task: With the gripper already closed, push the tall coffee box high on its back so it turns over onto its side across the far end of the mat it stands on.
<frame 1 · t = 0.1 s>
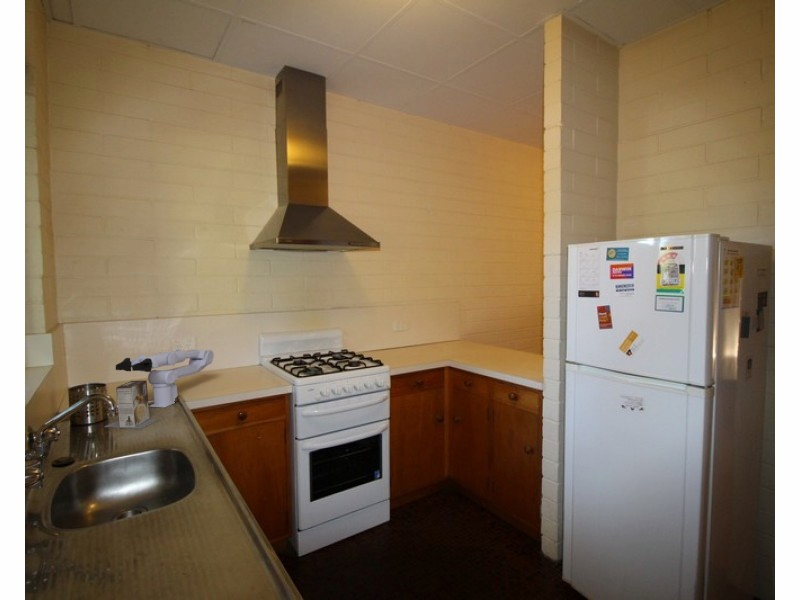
hand: (124, 367, 164), 22 cm above the counter, tool horizontal, fingers open, 7 cm apart
mat: (131, 423, 163), on the counter
coffee box: (135, 423, 163), resting on mat
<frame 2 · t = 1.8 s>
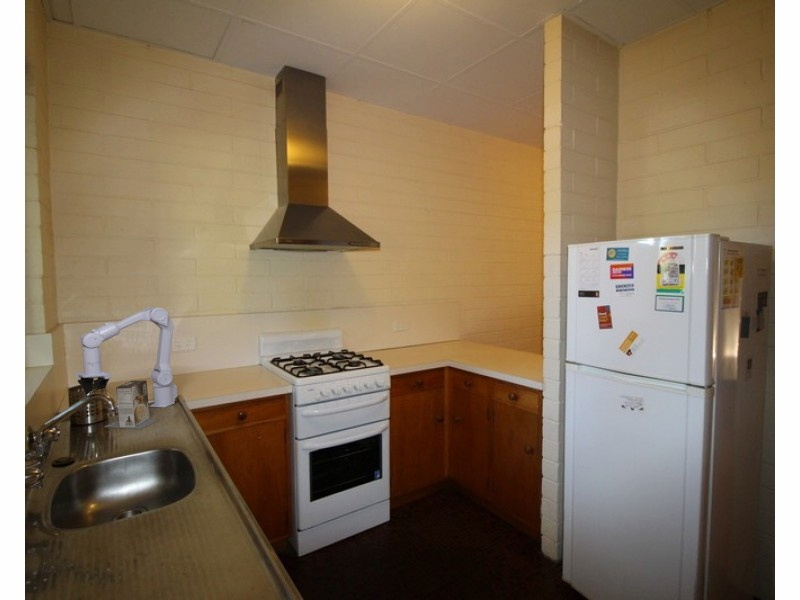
hand: (95, 395, 166), 10 cm above the counter, tool pointing down, fingers open, 5 cm apart
nothing on the counter moved.
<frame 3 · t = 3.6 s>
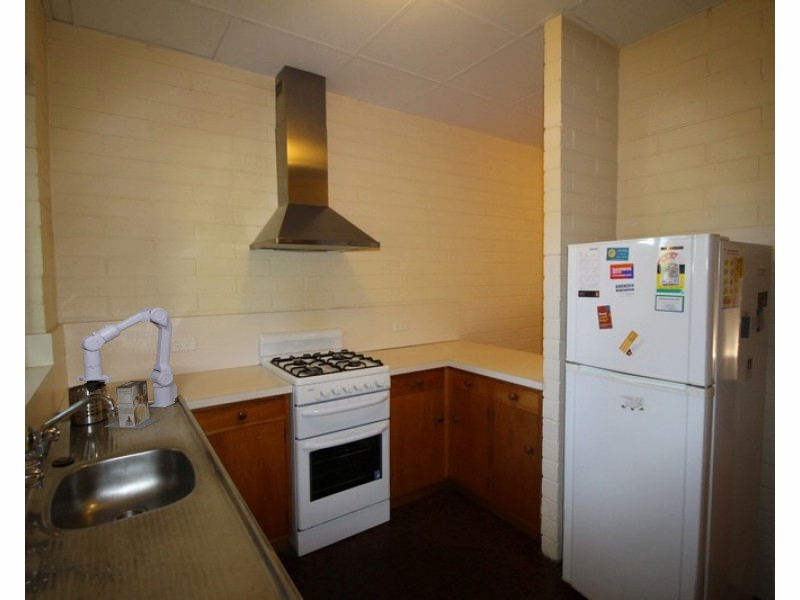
hand: (95, 399, 165), 9 cm above the counter, tool pointing down, fingers closed
nothing on the counter moved.
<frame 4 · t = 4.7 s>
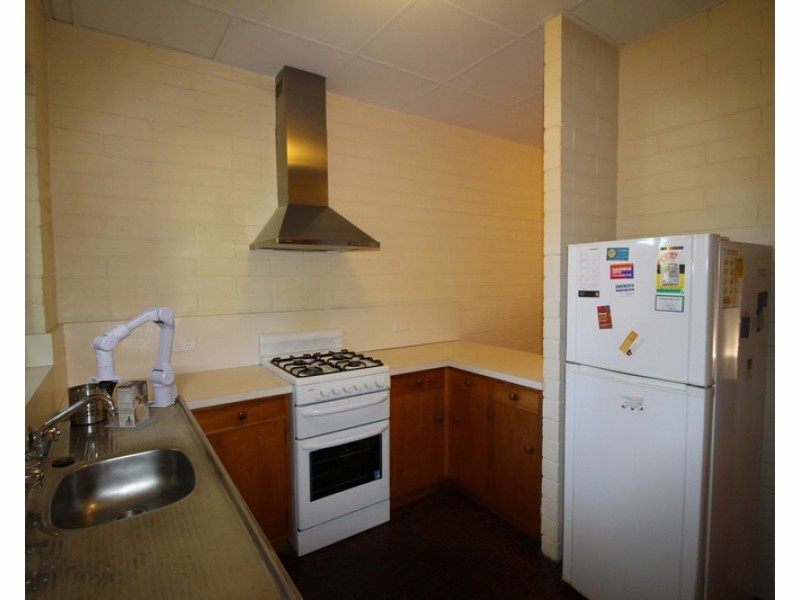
hand: (108, 399, 164), 9 cm above the counter, tool pointing down, fingers closed
nothing on the counter moved.
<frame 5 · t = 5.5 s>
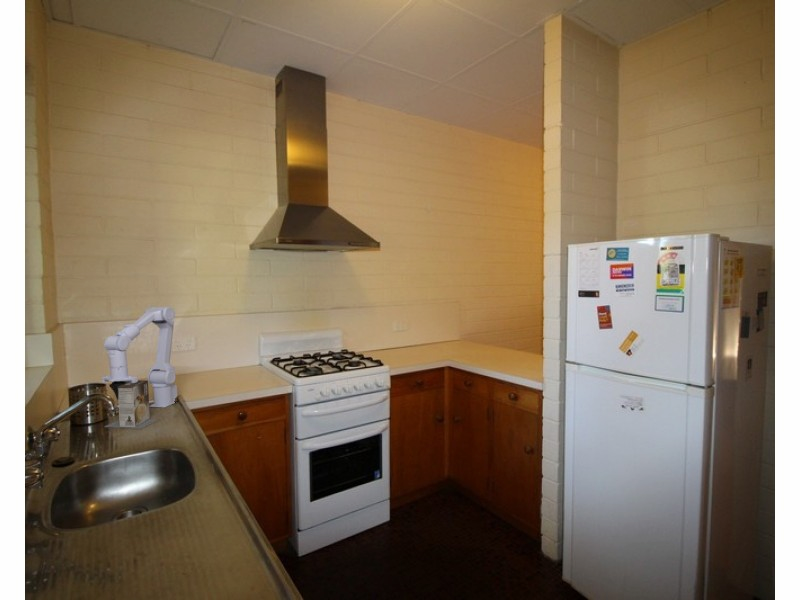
hand: (121, 400, 163), 9 cm above the counter, tool pointing down, fingers closed
coffee box: (135, 423, 163), resting on mat, touching gripper
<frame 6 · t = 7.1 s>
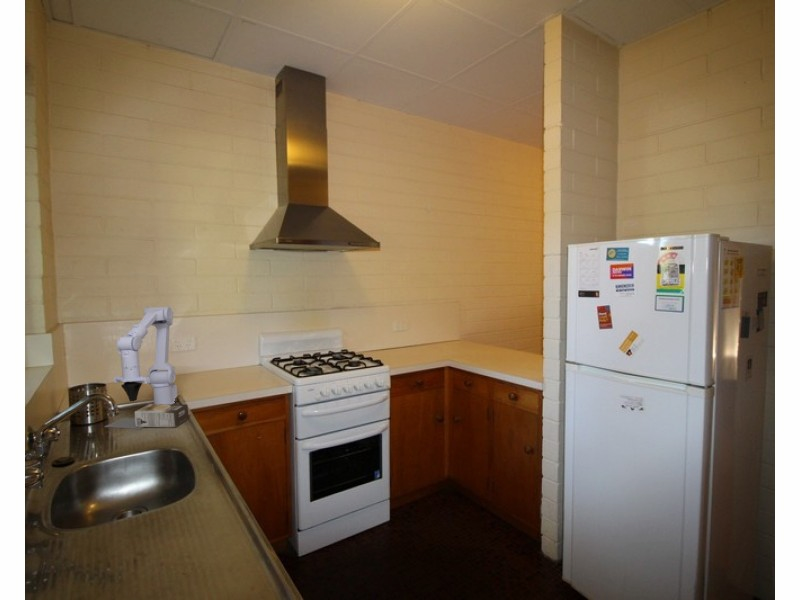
hand: (133, 400, 162), 9 cm above the counter, tool pointing down, fingers closed
coffee box: (141, 415, 162), point 3 cm above the counter, touching mat
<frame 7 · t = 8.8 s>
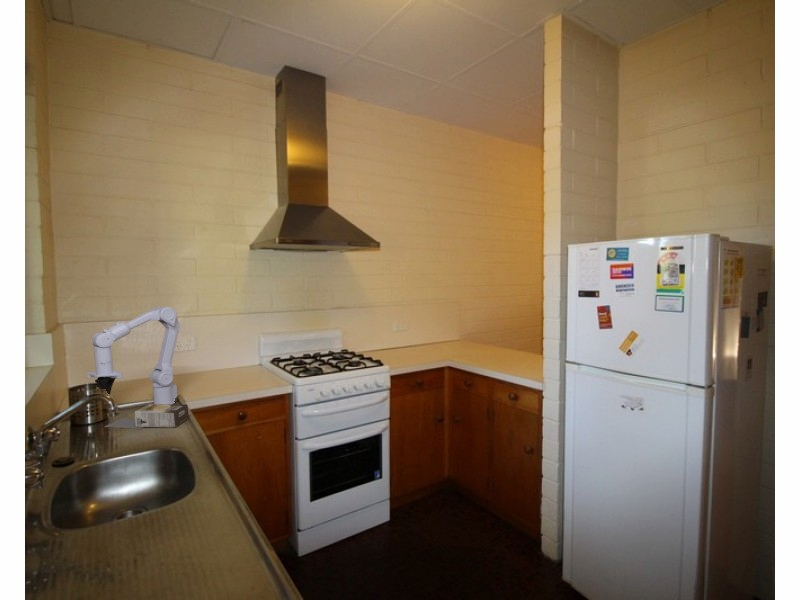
hand: (106, 395, 168), 10 cm above the counter, tool pointing down, fingers closed
nothing on the counter moved.
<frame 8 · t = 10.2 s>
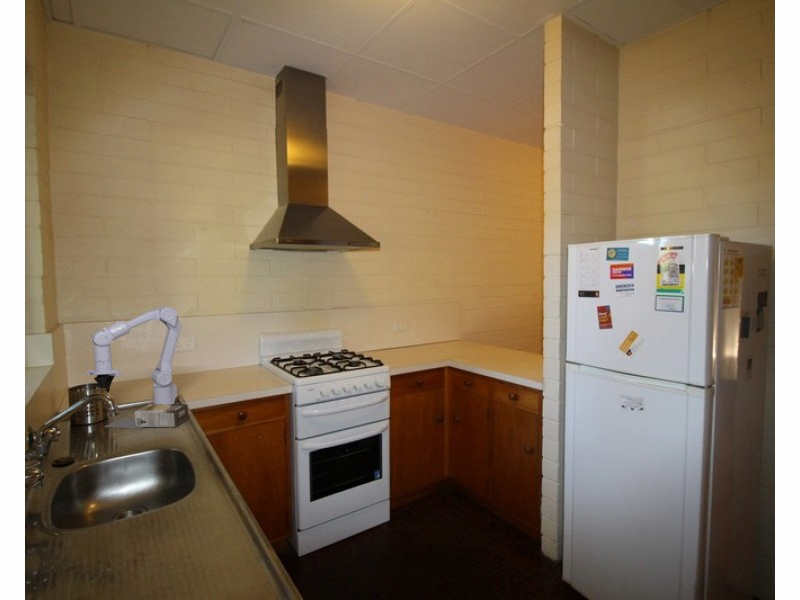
hand: (105, 392, 170), 10 cm above the counter, tool pointing down, fingers closed
nothing on the counter moved.
at the end: coffee box tilted 91°; coffee box touching mat, counter; coffee box inside the target area (3.5 cm from its centre), point 3.5 cm above the counter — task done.
